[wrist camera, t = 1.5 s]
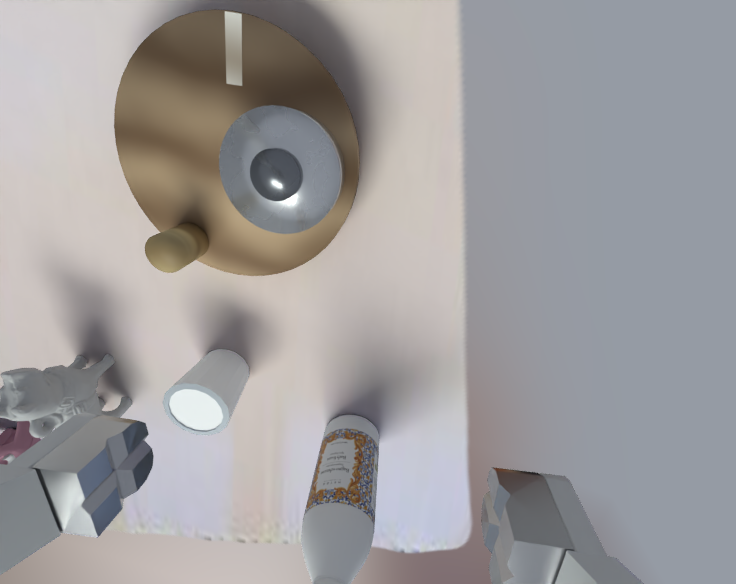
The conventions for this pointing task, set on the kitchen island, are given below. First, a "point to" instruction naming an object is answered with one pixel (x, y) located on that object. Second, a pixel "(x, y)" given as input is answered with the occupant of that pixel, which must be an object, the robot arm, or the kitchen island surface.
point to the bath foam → (341, 501)
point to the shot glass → (207, 393)
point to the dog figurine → (55, 394)
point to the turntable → (219, 137)
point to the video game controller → (16, 442)
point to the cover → (281, 168)
